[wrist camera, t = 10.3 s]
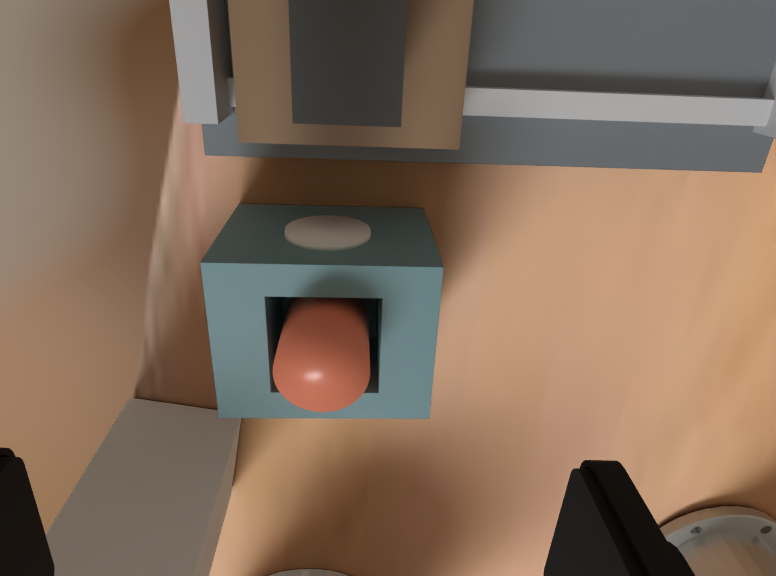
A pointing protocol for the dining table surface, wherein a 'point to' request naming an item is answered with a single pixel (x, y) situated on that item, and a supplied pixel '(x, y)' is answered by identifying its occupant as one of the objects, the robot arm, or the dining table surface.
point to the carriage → (350, 71)
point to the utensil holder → (308, 573)
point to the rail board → (555, 86)
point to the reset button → (323, 353)
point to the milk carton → (150, 495)
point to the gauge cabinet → (323, 279)
